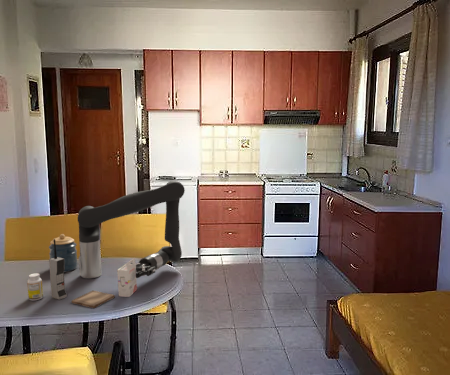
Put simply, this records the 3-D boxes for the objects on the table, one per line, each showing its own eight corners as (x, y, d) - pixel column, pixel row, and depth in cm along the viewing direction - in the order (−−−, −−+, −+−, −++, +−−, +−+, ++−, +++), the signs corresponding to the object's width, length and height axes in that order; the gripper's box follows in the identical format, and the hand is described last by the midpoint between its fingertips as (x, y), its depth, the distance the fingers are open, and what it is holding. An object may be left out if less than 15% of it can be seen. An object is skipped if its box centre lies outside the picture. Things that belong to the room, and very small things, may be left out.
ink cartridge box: (126, 289, 188) (125, 256, 186) (137, 289, 187) (135, 257, 185) (117, 296, 180) (116, 262, 178) (129, 297, 179) (127, 263, 177)
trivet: (71, 302, 174) (71, 300, 174) (92, 292, 185) (92, 290, 184) (94, 308, 169) (93, 305, 168) (114, 297, 179) (114, 294, 179)
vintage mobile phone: (59, 300, 177) (55, 241, 173) (51, 297, 179) (47, 239, 176) (66, 297, 180) (63, 239, 176) (59, 294, 183) (55, 237, 179)
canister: (82, 265, 221) (80, 231, 219) (68, 273, 209) (66, 238, 206) (60, 263, 224) (58, 230, 222) (44, 271, 212) (42, 236, 209)
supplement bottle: (36, 295, 182) (34, 271, 181) (46, 297, 180) (44, 273, 179) (25, 299, 177) (23, 276, 176) (35, 302, 175) (33, 277, 174)
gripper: (138, 253, 200) (114, 263, 186) (163, 257, 194) (141, 268, 180) (138, 269, 201) (115, 280, 187) (164, 273, 195) (142, 285, 181)
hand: (128, 274), depth 183 cm, fingers open, 8 cm apart
